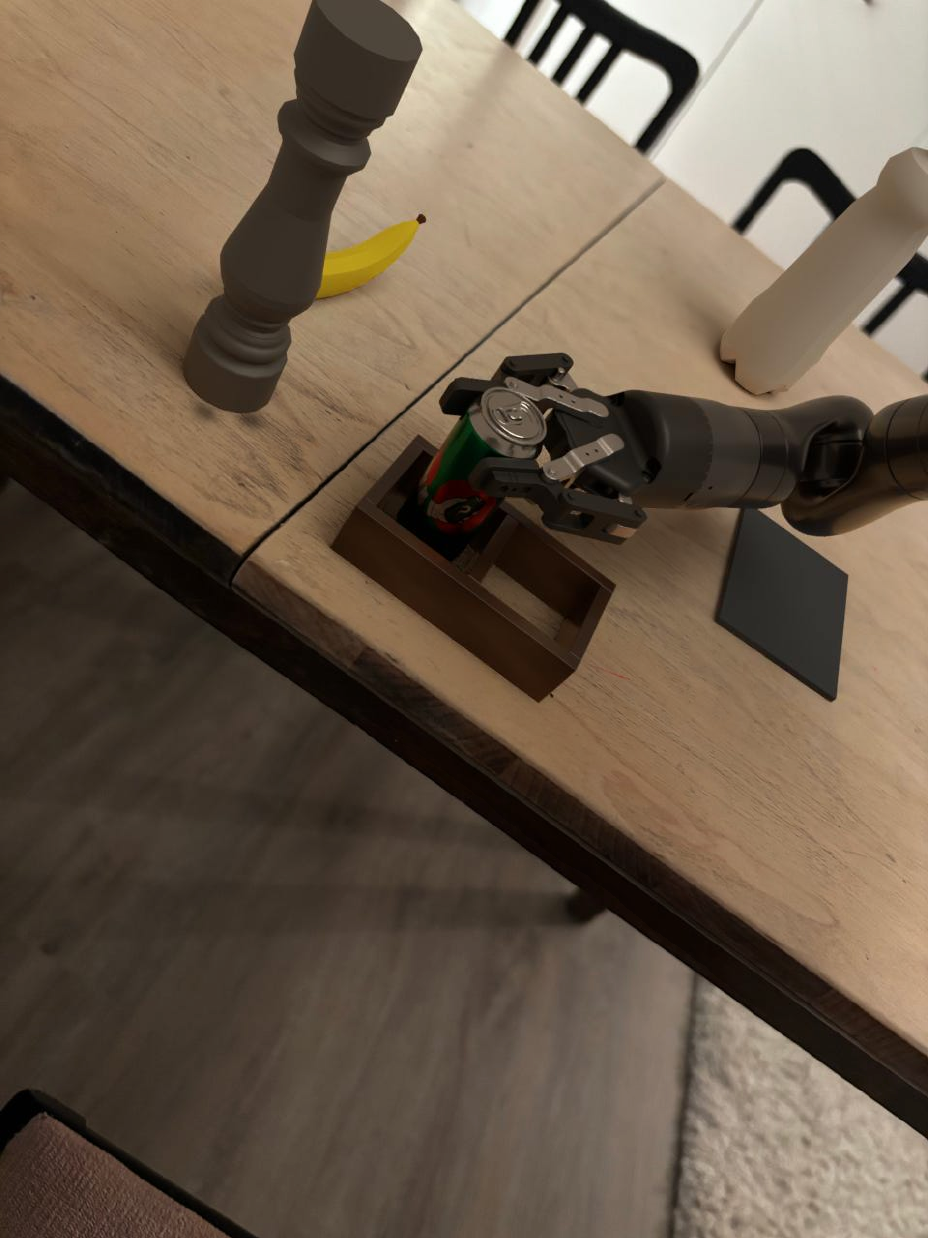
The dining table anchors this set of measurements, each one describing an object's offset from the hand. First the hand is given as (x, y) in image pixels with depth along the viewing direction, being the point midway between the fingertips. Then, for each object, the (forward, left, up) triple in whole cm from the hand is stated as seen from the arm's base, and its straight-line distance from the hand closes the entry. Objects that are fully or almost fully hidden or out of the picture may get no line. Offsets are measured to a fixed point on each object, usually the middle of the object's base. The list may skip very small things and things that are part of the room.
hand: (461, 434), depth 54 cm
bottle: (+13, -54, -12) cm, 57 cm away
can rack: (-4, -5, -12) cm, 13 cm away
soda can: (-1, -3, -10) cm, 11 cm away
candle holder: (+15, +5, -12) cm, 20 cm away
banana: (+23, -5, -12) cm, 27 cm away
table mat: (-12, -36, -12) cm, 40 cm away
